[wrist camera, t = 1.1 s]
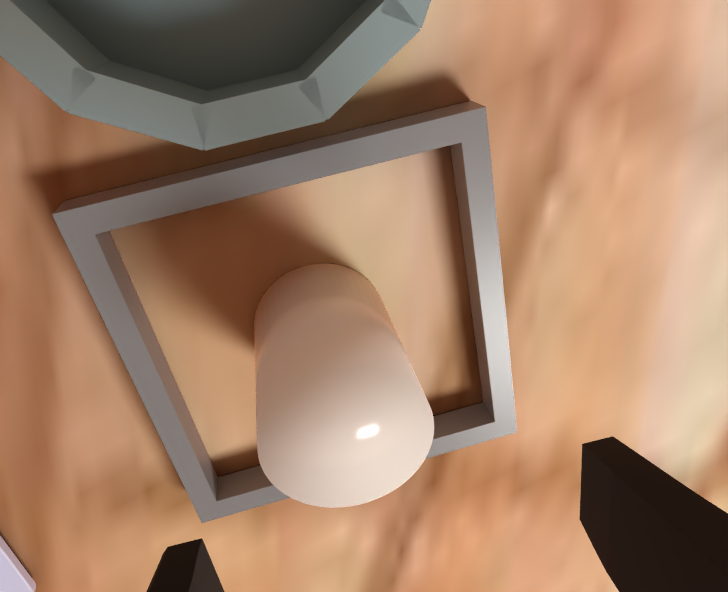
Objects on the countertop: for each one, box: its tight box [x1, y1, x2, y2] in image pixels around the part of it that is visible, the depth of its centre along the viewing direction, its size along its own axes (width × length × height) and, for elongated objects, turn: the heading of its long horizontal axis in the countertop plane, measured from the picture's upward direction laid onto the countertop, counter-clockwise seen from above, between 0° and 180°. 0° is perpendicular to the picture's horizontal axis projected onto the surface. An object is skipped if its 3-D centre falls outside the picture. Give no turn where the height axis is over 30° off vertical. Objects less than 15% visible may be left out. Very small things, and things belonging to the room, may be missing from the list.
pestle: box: [254, 263, 434, 508], centre depth 17 cm, size 4×4×6 cm
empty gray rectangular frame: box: [52, 101, 517, 523], centre depth 19 cm, size 12×12×1 cm
